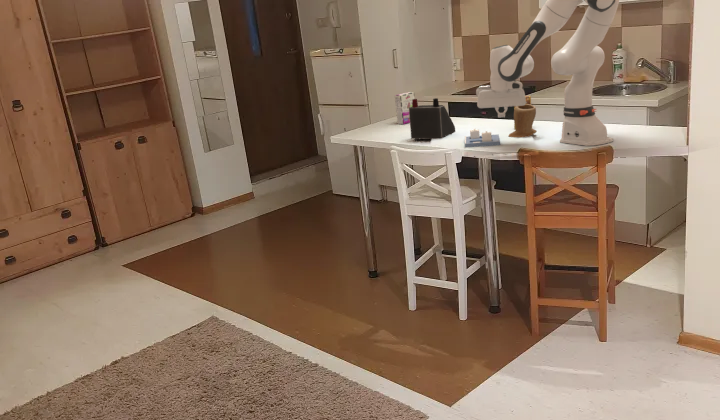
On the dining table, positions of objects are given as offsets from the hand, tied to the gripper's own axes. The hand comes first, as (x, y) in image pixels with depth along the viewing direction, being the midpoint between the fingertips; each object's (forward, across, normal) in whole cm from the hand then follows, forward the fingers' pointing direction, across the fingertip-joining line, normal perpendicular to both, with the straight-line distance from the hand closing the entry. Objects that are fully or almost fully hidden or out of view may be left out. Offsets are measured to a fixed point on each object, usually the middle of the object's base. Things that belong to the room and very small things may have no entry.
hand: (501, 117), depth 283 cm
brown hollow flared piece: (+13, +11, +16) cm, 24 cm away
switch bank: (+13, -8, +4) cm, 16 cm away
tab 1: (+12, -11, +8) cm, 18 cm away
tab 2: (+11, -6, 0) cm, 13 cm away
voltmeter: (+14, -30, +30) cm, 45 cm away
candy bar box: (+16, -47, +81) cm, 95 cm away
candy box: (+14, +12, +38) cm, 42 cm away
